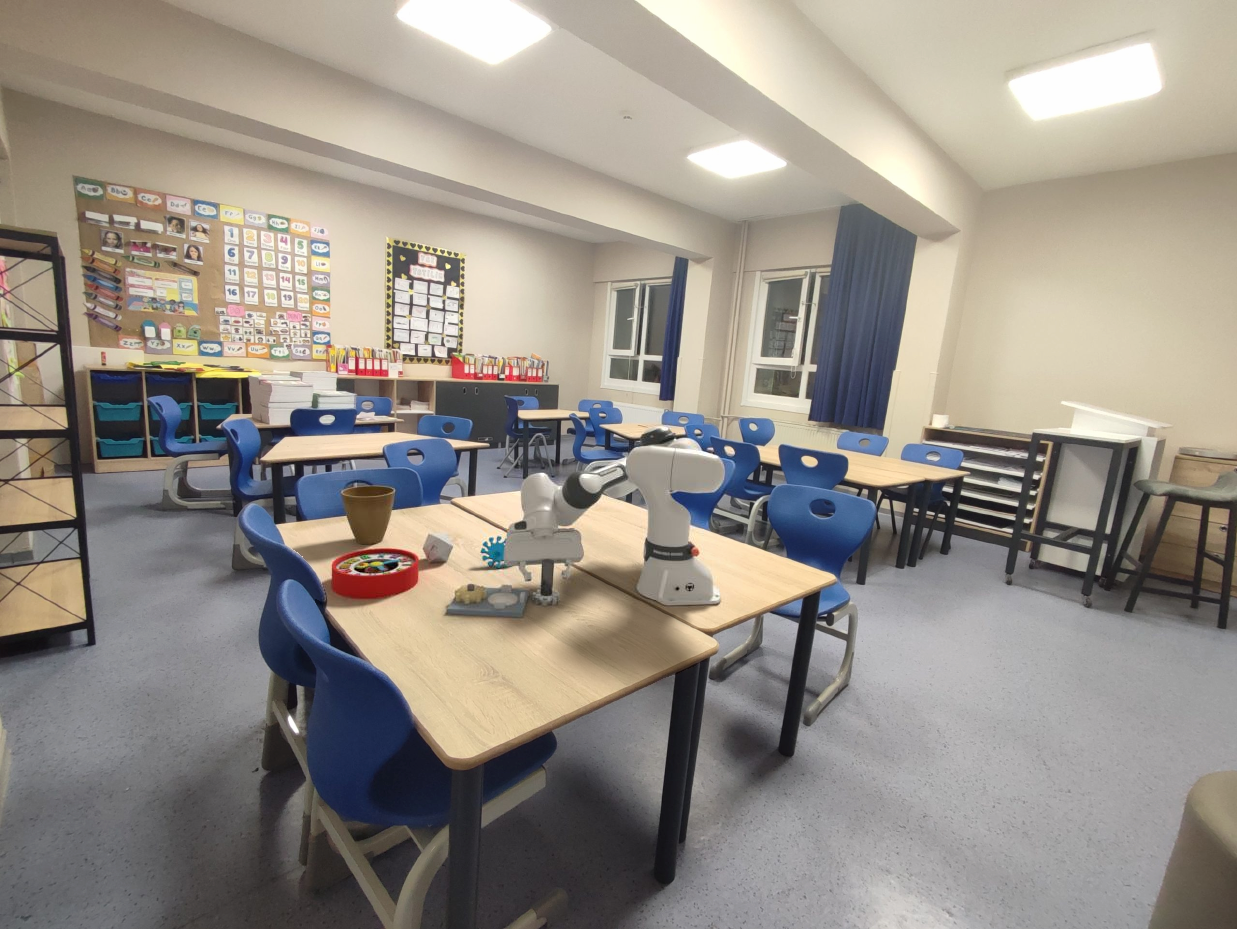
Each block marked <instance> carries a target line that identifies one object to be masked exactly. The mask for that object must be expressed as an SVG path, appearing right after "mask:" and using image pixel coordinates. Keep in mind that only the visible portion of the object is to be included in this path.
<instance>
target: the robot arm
mask: <svg viewBox="0 0 1237 929" xmlns="http://www.w3.org/2000/svg"><path fill="white" fill-rule="evenodd" d="M675 435H677V433H676V432H672V430H671V429H670V428H668V427H666V426H664V425H662V426H661V425H655V426H652V427H649V428H648V429H647V430H645V431H644V432H643V433H641V435H640V437H639V442H640V446H636V447H634V448H632V450H631V451H630V452H629V453H628V455H627V456H626V457H622V458H619V459H617V460H615V461H613V462H609V464H607V465H605V466H602V467H599V468H598V469H595V470H579V471H578V470H577V471H574V472H572V473H570V474H569V475H568V476H567V478H566V479H565V481H564V482H563V484H562V485H561V486H559V485H557V484H556V483H555V482H553V481H552V480H551V478H550V477H549V475H548V474H546V473H545V472H536V473H533V474H530V475H528V476H526V478H525V479H524V480H523V481H522V483H521V487H520V503H521V509H522V512H523V517H522V520H519V521H515V522H512V523H511V524H509V526H508V528H507V530H506V538H507V539H506V538H505V539H506V542H505V543H504V545H505V546H504V557H503V558H504V561H503V564H505V565H506V566H508V567H518V570H519V572H520V573H521V575H523V577H524V578H523V579H524V582H531V581H532V579H533V578H532V577H533V576H532V572H531V571H528V570H527V569H526V566H533V565H535V566H537V565H539V566H540V565H542V560H545V559H550V560H553V561H554V565H555V564H556V565H557V564H564V568H565V567H566V568H565V569H563V570H562V572H561V579H562V580H567V579H568V580H569V578H570V569H571V566H572V565H573V563H575V564H576V563H580V562H581V560H583V559H584V556H585V550H584V546H583V543H582V535H581V534H582V533H581V532H580V531H579V530H578V529H575V527H571V528H570V526H572V525H573V524H574V523H575V522H576V521H577V522H578V520H579V519H580V518H581V517H582V516H583V515H584V514H585V513H586V512H587V511H588V510H590V508H591V507H592V506H594V505H595V504H596V503H597V502H598V501H599V500H600V499H601V497H602V495H603V493H604V494H605V495H606V496H607V497H610V498H613V499H618V498H622V497H625V496H626V495H628V494H631V493H632V492H634V491H636V490H638V491H639V492H640V493H641V495H642V497H643V499H644V501H645V505H646V507H647V508H646V509H647V534H646V537H645V540H644V545H643V559H644V560H643V564H642V570H641V572H640V577H639V578H638V582H637V585H636V588H635V589H636V590H637V592H638V593H639V594H640V595H641V596H644V597H646V598H649V599H651V600H655V601H656V602H659V603H660V604H662V605H664V606H688V605H689V606H693V605H695V606H697V605H717V603H718V604H719V603H720V602H721V600H722V597H721V596H722V595H721V591H720V590H719V587H718V586H717V585H716V584H714V580H713V579H714V578H713V575H712V572H711V570H710V569H709V568H708V567H707V566H706V565H705V564H704V563H703V562H702V561H700V559H698V558H697V557H698V556H699V555H700V550H699V549H698V547H696V545H695V544H694V543H693V542H692V541H691V540H690V541H689V539H690V529H691V521H692V520H691V519H692V518H691V514H690V512H689V510H688V509H687V508H686V506H684V505H682V504H681V503H679V502H678V501H676V500H675V499H674V497H672V494H674V493H677V492H683V493H690V494H709V493H715V492H716V491H717V490H719V488H720V487H721V486H722V484H723V482H724V479H725V477H726V468H725V465H724V462H723V460H722V459H721V457H720V456H719V455H716V454H714V453H710V452H708V451H703V449H702V448H701V446H700V444H699V443H698V442H697V441H696V440H694V439H692V438H689V437H681V438H678V439H677V438H676V436H675ZM560 527H563V528H560ZM564 527H569V528H564Z"/></svg>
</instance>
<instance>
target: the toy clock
mask: <svg viewBox="0 0 1237 929" xmlns="http://www.w3.org/2000/svg"><path fill="white" fill-rule="evenodd" d="M419 559H420V558H419V557H418V555H417V554H416V553H414V552H412V551H409V550H405V549H402V548H389V547H387V548H386V547H381V548H380V547H379V548H378V547H377V548H366V549H361V550H355V551H352V552H349V553H346V554H343V555H341V556H338V557H337V558H335V559H334V560H333V561H332V563H331V589H332V591H333V592H334V593H336V594H337V595H339V596H341V597H345V598H349V599H356V600H373V599H374V600H375V599H382V598H387V597H394V596H397V595H399V594H402V593H405V592H408V591H409V590H411V589H413V588H414V587H415V586H416V585H417V584H418V582H419Z"/></svg>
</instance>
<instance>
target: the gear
mask: <svg viewBox="0 0 1237 929" xmlns="http://www.w3.org/2000/svg"><path fill="white" fill-rule="evenodd" d="M554 569H555V564H554V561H553V560H550V559H545V560H542V564H541V573H540V588H538V589H536V591H533V592H532V601H533V604H535V605H541V606H542V607H547V606H551V605H552V606H555V605H557V602H558V603H559V602H560V598H561V594H560V593H559V591H558V590H556V589H554V585H553V584H554V575H555V574H554V571H555V570H554Z"/></svg>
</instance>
